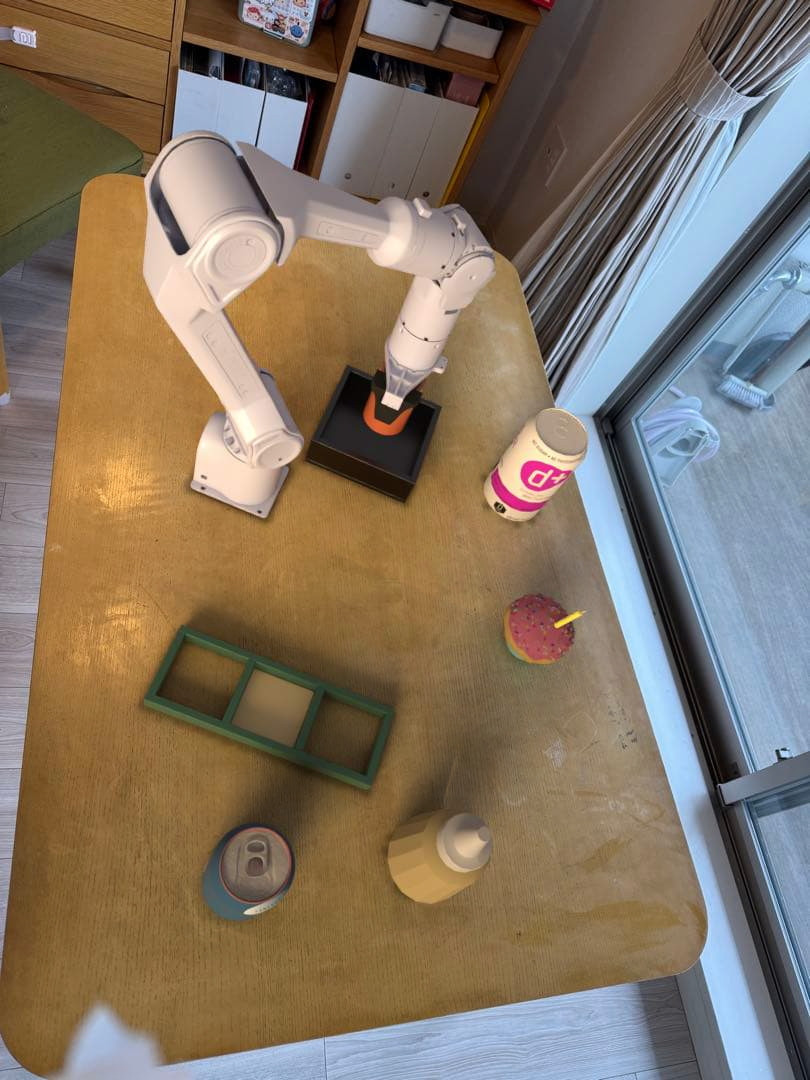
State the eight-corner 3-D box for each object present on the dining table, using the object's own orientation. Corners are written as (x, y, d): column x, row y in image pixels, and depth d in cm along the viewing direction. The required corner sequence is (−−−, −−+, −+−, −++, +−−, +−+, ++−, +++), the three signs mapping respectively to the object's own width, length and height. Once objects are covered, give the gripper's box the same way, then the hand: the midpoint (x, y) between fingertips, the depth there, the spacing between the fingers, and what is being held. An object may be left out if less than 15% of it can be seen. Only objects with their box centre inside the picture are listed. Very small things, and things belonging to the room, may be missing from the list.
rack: (365, 791, 79) (371, 786, 77) (143, 706, 77) (143, 699, 75) (388, 715, 84) (395, 708, 82) (180, 633, 81) (181, 624, 79)
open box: (304, 460, 96) (311, 439, 93) (339, 386, 104) (347, 364, 100) (404, 503, 98) (415, 484, 94) (431, 427, 105) (442, 406, 102)
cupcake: (561, 628, 96) (610, 587, 86) (546, 688, 91) (597, 652, 81) (499, 599, 95) (542, 554, 85) (481, 658, 91) (524, 618, 81)
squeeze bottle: (374, 821, 78) (432, 783, 63) (449, 818, 80) (522, 781, 65) (379, 909, 74) (442, 891, 59) (458, 904, 77) (537, 885, 62)
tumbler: (357, 424, 92) (374, 380, 86) (370, 393, 95) (388, 348, 89) (398, 442, 93) (419, 400, 86) (410, 410, 96) (431, 368, 89)
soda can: (275, 919, 71) (299, 909, 61) (198, 924, 69) (209, 915, 59) (276, 839, 74) (298, 817, 64) (202, 842, 72) (213, 819, 62)
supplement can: (535, 531, 102) (591, 469, 90) (477, 511, 101) (526, 445, 88) (541, 483, 106) (595, 418, 94) (485, 463, 105) (533, 394, 93)
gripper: (444, 384, 77) (404, 460, 88) (476, 294, 85) (436, 374, 96) (378, 354, 76) (346, 435, 87) (417, 267, 84) (383, 351, 95)
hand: (389, 402), depth 92 cm, fingers closed on tumbler, 5 cm apart
